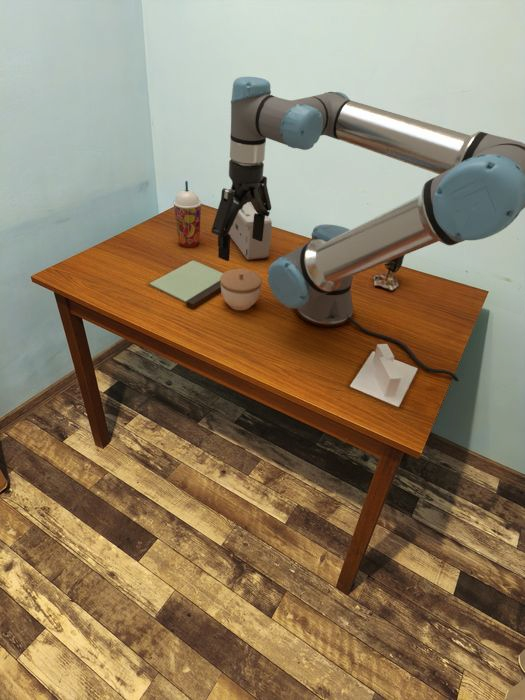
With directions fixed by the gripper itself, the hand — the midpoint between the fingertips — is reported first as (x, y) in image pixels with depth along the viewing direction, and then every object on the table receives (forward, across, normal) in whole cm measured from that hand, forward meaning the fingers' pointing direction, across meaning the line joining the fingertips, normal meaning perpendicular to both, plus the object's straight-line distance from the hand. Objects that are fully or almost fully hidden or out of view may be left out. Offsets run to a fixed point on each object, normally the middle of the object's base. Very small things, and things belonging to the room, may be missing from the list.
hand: (241, 248), depth 113 cm
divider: (+17, 0, -8) cm, 19 cm away
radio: (+17, -28, -18) cm, 38 cm away
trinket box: (+16, 0, +1) cm, 17 cm away
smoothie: (+18, -17, -33) cm, 41 cm away
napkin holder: (+15, +2, +44) cm, 46 cm away
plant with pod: (+16, -38, +27) cm, 49 cm away
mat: (+17, 0, -17) cm, 24 cm away
